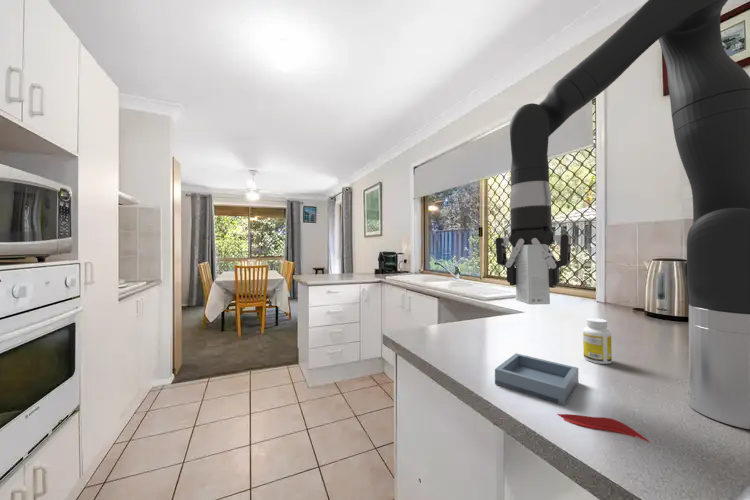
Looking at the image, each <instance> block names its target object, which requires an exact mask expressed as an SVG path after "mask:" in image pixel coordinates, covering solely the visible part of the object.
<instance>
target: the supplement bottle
mask: <svg viewBox="0 0 750 500" xmlns="http://www.w3.org/2000/svg"><path fill="white" fill-rule="evenodd" d="M586 325H587V326H586V327H584V328H583V331H582V333H583V334H582V336H583V337H582V338H583V340H582V341H583V346H582V347H583V358H584V359H585V361H588V362H590V363H594V364H599V365H609V364H611V363H612V360H613V359H612V354H613V353H612V332H611V330H609V329H607V328H608V320H606V319H602V318H598V317H597V318H595V317H594V318H593V317H589V318H588V317H587V318H586Z"/></svg>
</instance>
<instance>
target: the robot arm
mask: <svg viewBox="0 0 750 500" xmlns="http://www.w3.org/2000/svg"><path fill="white" fill-rule="evenodd" d="M728 1H729V0H647V1H646V2H645V3H644V4H643V5H642V6H641V7H640V8H639V9H638V10H637V11H636V12H635V13H634V14H633V15H632V16H631V17H630V18H629V19H627V21H625V22H624V24H622V25H621V27H619V28H618V29H617V30H616V31H615V32H614V33H613V34H612V35H611V36H610V37H608V38H607V39H606V40H605V41H603V43H602V44H601V45H599V46H598V47H597V48H596V49H595V50H593V51H592V52H591V53H589V54H588V56H587V57H586V58H584V59H583V60H582V61H580V62H579V63H578V64H577V65H575V67H573V68H572V69H571V70H570V71H569V72H567V73H566V74H565V75H563V77H561V78H560V79H559V80H558V81H556V82H555V83H554V84H553V86H552V87H550V89H549V90H548V92H547V94H546V96H545V97H544V99H542V101H541V102H540V103H533V102H531V103H527V104H524V105H522V106H520V107H519V108H518V109H516V111H515V112H514V113H513V115H512V116H511V118H510V121H509V141H510V151H511V153H510V154H511V163H510V164H511V165H510V193H509V194H510V195H509V196H510V197H509V208H510V209H509V211H510V234H509V236H506V237H496V238H495V251H496V262H497V265H499V266H500V265H501V266H503V267H505V269H506V281H507V283H509V285H510V286H516V266H515V260H516V259H517V258H518V254H519V253H520V251H521V248H522V245H532V244H541V245H542V244H546V245H548V249H549V253H548V252H547V251H546V249H545V248H544V247H543V246H542V252H544V253H542V257H543V259H546V262H547V264H548V265H549V288H551V289H552V288H553V289H554V288H557V286H558V285H560V268H562V267H566V266H568V265H570V264H571V247H572V246H571V245H572V236H571V235H570V234H568V233H567V234H566V233H563V234H554V233H553V229H552V222H553V221H552V219H553V218H552V193H551V192H552V191H551V187H550V170H549V169H550V167H549V158H548V157H549V156H548V150H549V137H550V136H551V135H552V134H553V133H554V132H556V131H557V129H559V128H560V127H561V126H562V125H563V124H564V123H565V122H566V121H567V120H569V118H570V117H571V116H572V115H573V114H575V113H576V112H578V111H579V110H580V109H582V108H583V107H584V106H586V105H588V103H590V102H591V101H592V100H593V99H595V98H596V97H598V96H599V95H600V94H601V93H602V92H604V91H605V90H606V89H607V88H609V87H610V86H611V85H612V84H613V83H614V82H615V81H616V80H617V79H618V78H620V76H622V74H623V73H625V71H626V70H627V69H629V68H630V66H631V65H632V64H634V63H635V62H636V60H637V59H639V58H640V57H641V56H642V55H643V54H644V53H645V52H646V51H647V50H649V48H651V46H652V45H653V44H655V43H656V42H657V41H658V42H659V45H660V48H661V52H662V55H663V58H664V63H665V66H666V74H667V86H668V93H669V101H670V113H671V121H672V127H673V134H674V139H675V143H676V148H677V151H678V154H679V158H680V160H681V163H682V166H683V169H684V172H685V175H686V176H687V179H688V182H689V184H690V189H691V194H692V209H693V210H692V214H693V215H692V217H693V218H692V219H693V221H692V225H691V226H690V228H689V230H688V232H687V237H686V276H687V277H686V278H687V279H686V280H687V281H686V285H687V292H688V293H687V294H688V392H687V393H688V404H689V406H690V408H692V409H693V410H695V411H696V412H697V413H700V414H701V415H703V416H705V417H708V418H710V419H712V420H715V421H718V422H720V423H723V424H727V425H730V426H733V427H737V428H740V429H746V430H750V75H749V74H748V73H747V72H746V70H745V69H744V68H743V67H742V66H740V65H739V64H738V63H737V62H736V61H735V60H734V59H733V58H731V56H729V55H728V54H727V52H726V50H725V48H724V46H723V40H722V33H721V32H722V30H721V15H722V14H721V13H722V10H723V7H724V6H726V3H728ZM554 241H556V244H557V246H559V247H560V248H559V250H560V252H559V253H560V254H559V260H557V258H556V257H555V255H554V253H553V251H552V250H551V249H550V247H551V245H552V244H553V243H554ZM509 244H510V245H512V247H513V249H512V251H511V253H510V254H509V258H508V257H507V248H508V246H509Z"/></svg>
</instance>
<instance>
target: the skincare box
mask: <svg viewBox="0 0 750 500" xmlns="http://www.w3.org/2000/svg"><path fill="white" fill-rule="evenodd" d="M542 246H543V247H544V248H545V249H546V251H547V252H548V253H549V249H550V248H549V249H548V245H546V244H542V245H541V244H532V245H522V248H521V251H520V253H519V254H518V258H517V259H516V260H515V268H516V285H515V300H516V301H518V302H520V303H524V304H527V305H551V300H550V298H551V297H550V295H551V293H550V292H551V291H550V287H549V269H550V266H549V265H548V264H547V262H546V259H543V257H542V253H544V252H542Z"/></svg>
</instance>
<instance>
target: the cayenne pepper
mask: <svg viewBox="0 0 750 500" xmlns="http://www.w3.org/2000/svg"><path fill="white" fill-rule="evenodd" d="M556 415H557V416H559V417H560V418H562V419H563V420H562V421H565V422H567V423H570V424H572V425H575V426H578V427H582V428H587V429H592V430H597V431H604V432H611V433H616V434H617V433H618V434H621V435H626V436H630V437H633V438H639V439H641V440H644V441H645V442H647V443H648V444H651V442H650V441H649V440H648V439H647V438H646V437H644V436H643V434H641V433H639V432H638V431H636V430H634V428H632V427H629V425H627V424H625V423H622V422H621V421H619V420H617V419H613V418H610V417H609V418H608V417H601V416H587V415H581V414H572V413H569V414H568V413H564V414H563V413H556Z"/></svg>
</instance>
